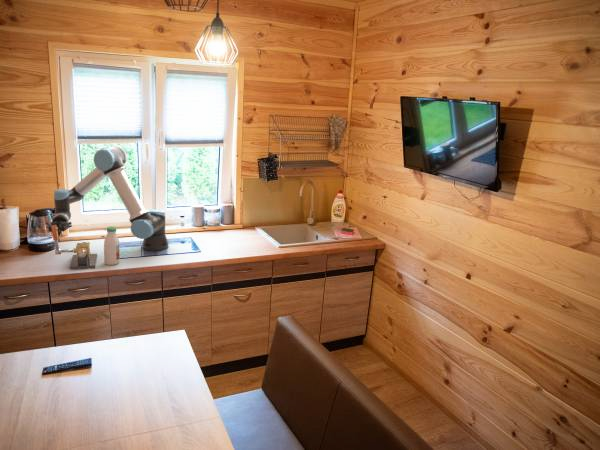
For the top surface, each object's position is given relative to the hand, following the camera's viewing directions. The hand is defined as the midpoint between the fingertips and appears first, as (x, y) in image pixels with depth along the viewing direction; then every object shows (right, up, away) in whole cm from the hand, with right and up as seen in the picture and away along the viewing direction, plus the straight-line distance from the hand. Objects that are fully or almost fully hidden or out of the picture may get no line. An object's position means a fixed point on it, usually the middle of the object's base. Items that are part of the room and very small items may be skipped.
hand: (54, 233), depth 237 cm
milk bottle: (+24, -16, +14) cm, 32 cm away
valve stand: (+10, -16, +11) cm, 22 cm away
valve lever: (+2, -11, +7) cm, 13 cm away
